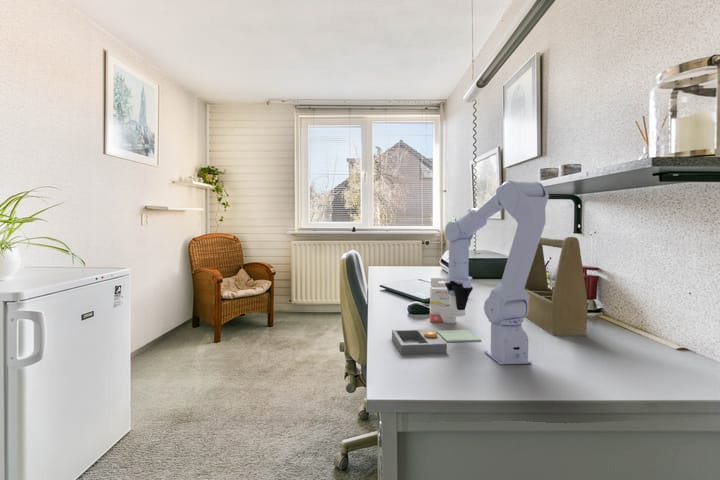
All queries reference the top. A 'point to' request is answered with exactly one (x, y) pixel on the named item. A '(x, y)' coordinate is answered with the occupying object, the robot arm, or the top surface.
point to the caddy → (558, 291)
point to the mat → (458, 336)
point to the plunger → (430, 334)
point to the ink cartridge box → (440, 302)
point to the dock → (421, 348)
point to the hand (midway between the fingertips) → (458, 307)
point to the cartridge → (454, 305)
